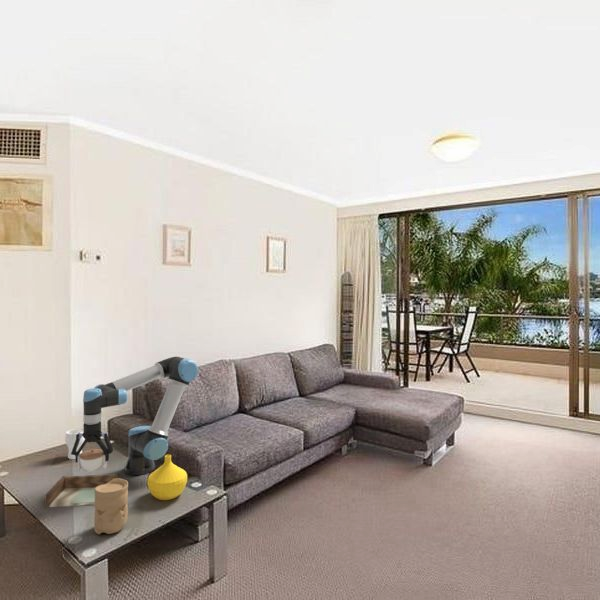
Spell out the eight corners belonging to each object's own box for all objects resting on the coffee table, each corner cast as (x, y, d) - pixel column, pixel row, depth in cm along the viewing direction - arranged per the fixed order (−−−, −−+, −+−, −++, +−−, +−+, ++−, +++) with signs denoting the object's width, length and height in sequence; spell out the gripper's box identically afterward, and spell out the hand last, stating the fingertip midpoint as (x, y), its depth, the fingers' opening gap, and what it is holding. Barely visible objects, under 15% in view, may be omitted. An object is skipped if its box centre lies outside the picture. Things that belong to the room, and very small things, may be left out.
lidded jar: (74, 470, 196) (74, 450, 196) (96, 462, 205) (96, 443, 205) (88, 476, 191) (88, 455, 190) (109, 467, 200) (109, 448, 200)
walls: (118, 486, 210) (118, 474, 209) (106, 504, 192) (106, 491, 192) (62, 488, 206) (62, 476, 206) (45, 507, 188) (45, 494, 188)
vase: (146, 490, 206) (146, 451, 206) (184, 483, 213) (184, 446, 213) (148, 508, 189) (148, 466, 189) (189, 500, 196) (190, 460, 196)
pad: (112, 487, 206) (112, 487, 206) (102, 502, 192) (102, 501, 192) (81, 489, 204) (81, 488, 204) (70, 503, 190) (70, 503, 190)
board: (118, 486, 210) (118, 484, 209) (106, 504, 192) (106, 503, 192) (62, 488, 206) (62, 487, 206) (45, 507, 188) (45, 506, 188)
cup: (73, 452, 250) (73, 427, 250) (89, 453, 249) (89, 428, 248) (60, 459, 240) (60, 433, 239) (77, 461, 238) (77, 435, 238)
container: (87, 532, 169) (87, 488, 169) (111, 517, 181) (111, 476, 181) (111, 540, 165) (111, 494, 164) (134, 523, 177) (134, 481, 176)
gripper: (120, 418, 203) (120, 463, 203) (69, 420, 200) (69, 465, 200) (115, 423, 195) (115, 470, 196) (62, 425, 192) (62, 472, 193)
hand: (92, 468), depth 198 cm, fingers closed on lidded jar, 11 cm apart
